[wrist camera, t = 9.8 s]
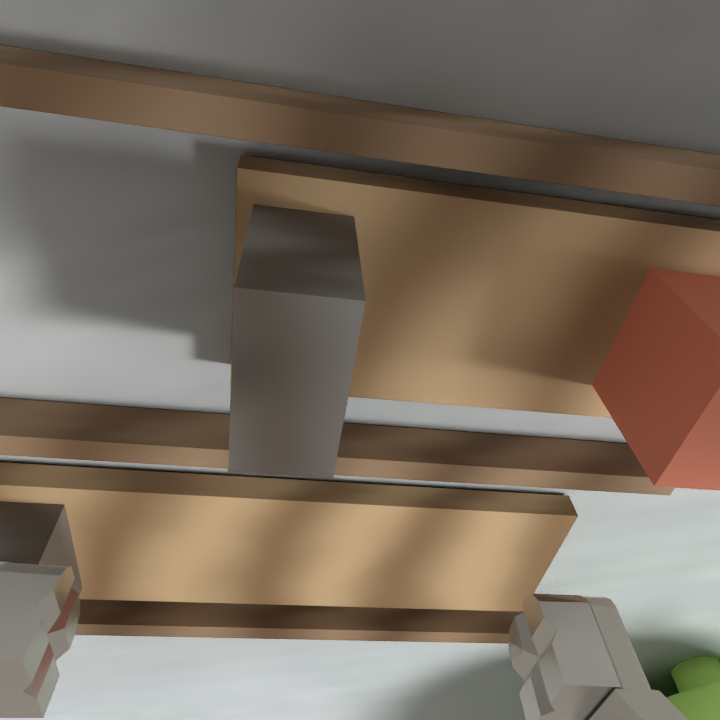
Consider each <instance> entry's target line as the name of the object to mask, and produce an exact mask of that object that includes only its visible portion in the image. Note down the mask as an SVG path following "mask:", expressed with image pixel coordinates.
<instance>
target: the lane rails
mask: <svg viewBox="0 0 720 720" xmlns="http://www.w3.org/2000/svg"><path fill="white" fill-rule="evenodd" d="M0 106H4V107H11V108H18V109H25V110H33V111H40V112H47V113H54V114H61V115H68V116H76V117H83V118H90V119H97V120H104V121H112V122H119V123H126V124H133V125H140V126H147V127H155V128H162V129H169V130H176V131H183V132H190V133H198V134H205V135H212V136H219V137H226V138H233V139H241V140H248V141H255V142H262V143H269V144H277V145H284V146H291V147H298V148H305V149H312V150H320V151H327V152H334V153H341V154H348V155H355V156H363V157H370V158H377V159H384V160H391V161H398V162H406V163H413V164H420V165H427V166H434V167H442V168H449V169H456V170H463V171H470V172H477V173H485V174H492V175H499V176H506V177H513V178H520V179H528V180H535V181H542V182H549V183H556V184H563V185H571V186H578V187H585V188H592V189H599V190H607V191H614V192H621V193H628V194H635V195H642V196H650V197H657V198H664V199H671V200H678V201H685V202H693V203H700V204H707V205H714V206H720V155H716V154H710V153H703V152H697V151H690V150H683V149H677V148H670V147H664V146H657V145H651V144H644V143H638V142H631V141H625V140H618V139H612V138H605V137H599V136H592V135H586V134H579V133H573V132H566V131H560V130H553V129H546V128H540V127H533V126H527V125H520V124H514V123H507V122H501V121H494V120H488V119H481V118H475V117H468V116H462V115H455V114H449V113H442V112H436V111H429V110H422V109H416V108H409V107H403V106H396V105H390V104H383V103H377V102H370V101H364V100H357V99H351V98H344V97H338V96H331V95H325V94H318V93H312V92H305V91H299V90H292V89H285V88H279V87H272V86H266V85H259V84H253V83H246V82H240V81H233V80H227V79H220V78H214V77H207V76H201V75H194V74H188V73H181V72H175V71H168V70H161V69H155V68H148V67H142V66H135V65H129V64H122V63H116V62H109V61H103V60H96V59H90V58H83V57H77V56H70V55H64V54H57V53H51V52H44V51H37V50H31V49H24V48H18V47H11V46H5V45H0ZM229 433H230V415H229V414H215V413H201V412H188V411H174V410H161V409H147V408H133V407H120V406H106V405H92V404H79V403H65V402H51V401H38V400H24V399H11V398H0V455H12V456H28V457H45V458H61V459H78V460H94V461H111V462H127V463H144V464H161V465H177V466H194V467H210V468H227V469H228V464H229ZM334 475H343V476H359V477H376V478H392V479H409V480H425V481H442V482H458V483H475V484H492V485H508V486H525V487H541V488H558V489H574V490H591V491H607V492H624V493H640V494H657V495H670V494H671V493H672V491H673V490H674V488H675V487H660V486H654V485H653V483H652V482H651V480H650V478H649V477H648V475H647V474H646V472H645V470H644V469H643V467H642V465H641V464H640V462H639V461H638V459H637V457H636V456H635V454H634V452H633V451H632V449H631V448H630V446H629V444H624V443H610V442H597V441H583V440H570V439H556V438H542V437H529V436H515V435H501V434H488V433H474V432H461V431H447V430H433V429H420V428H406V427H392V426H379V425H365V424H351V423H343V427H342V432H341V438H340V443H339V448H338V454H337V459H336V465H335V470H334ZM523 612H524V611H523ZM523 612H518V611H482V610H447V609H412V608H376V607H341V606H305V605H270V604H235V603H199V602H164V601H129V600H93V599H80V615H79V619H78V624H77V629H76V632H75V635H111V636H161V637H211V638H261V639H311V640H361V641H411V642H461V643H509V642H508V641H509V631H510V626H511V624H512V622H513V620H514V618H515V616H517V615H519V614H521V613H523Z"/></svg>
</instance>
